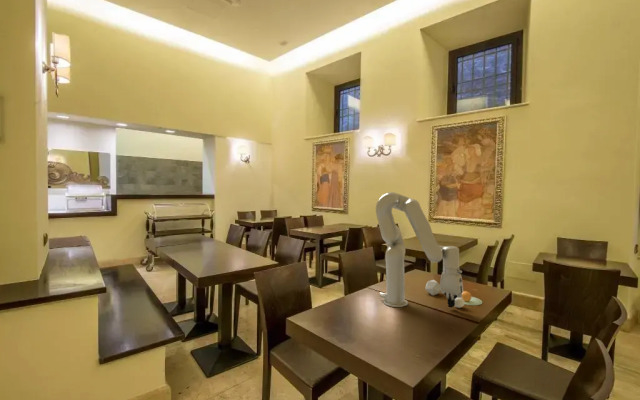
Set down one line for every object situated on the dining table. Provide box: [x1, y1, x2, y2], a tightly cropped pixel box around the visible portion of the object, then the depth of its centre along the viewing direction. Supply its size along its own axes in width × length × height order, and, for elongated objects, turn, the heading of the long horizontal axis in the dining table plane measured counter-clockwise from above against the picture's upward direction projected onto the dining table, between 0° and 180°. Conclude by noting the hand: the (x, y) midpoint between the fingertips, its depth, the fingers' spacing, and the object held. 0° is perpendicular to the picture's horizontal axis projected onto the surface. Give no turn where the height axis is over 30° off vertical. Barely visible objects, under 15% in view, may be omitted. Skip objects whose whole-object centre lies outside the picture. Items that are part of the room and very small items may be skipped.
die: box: [424, 279, 441, 296], centre depth 177 cm, size 8×9×10 cm
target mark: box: [464, 296, 483, 306], centre depth 165 cm, size 14×14×1 cm
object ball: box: [461, 290, 473, 302], centre depth 164 cm, size 6×6×6 cm
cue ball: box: [454, 298, 466, 309], centre depth 156 cm, size 6×6×6 cm
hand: (451, 306), depth 153 cm, fingers closed
